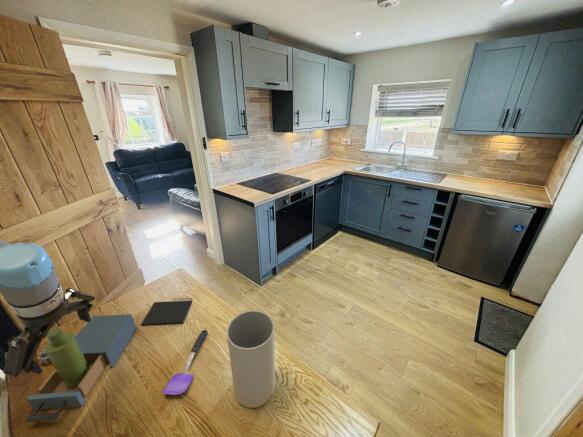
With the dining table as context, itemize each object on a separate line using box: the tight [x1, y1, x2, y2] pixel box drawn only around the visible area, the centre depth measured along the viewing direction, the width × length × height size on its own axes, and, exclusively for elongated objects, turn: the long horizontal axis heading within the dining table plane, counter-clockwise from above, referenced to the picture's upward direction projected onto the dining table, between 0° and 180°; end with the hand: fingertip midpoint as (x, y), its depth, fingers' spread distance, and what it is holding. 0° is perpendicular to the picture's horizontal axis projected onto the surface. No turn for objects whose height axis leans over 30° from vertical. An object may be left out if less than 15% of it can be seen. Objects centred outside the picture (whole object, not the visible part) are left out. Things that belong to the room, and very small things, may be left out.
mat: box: [140, 300, 193, 327], centre depth 99 cm, size 16×12×1 cm
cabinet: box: [75, 313, 137, 369], centre depth 83 cm, size 16×14×8 cm
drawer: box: [25, 354, 108, 423], centre depth 70 cm, size 19×12×6 cm, turn 5°
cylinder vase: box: [226, 310, 276, 409], centre depth 69 cm, size 12×12×25 cm
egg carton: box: [36, 333, 78, 366], centre depth 82 cm, size 11×8×4 cm
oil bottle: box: [43, 327, 90, 389], centre depth 69 cm, size 6×6×20 cm
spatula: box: [161, 329, 208, 396], centre depth 81 cm, size 24×7×2 cm, turn 175°
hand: (62, 343), depth 63 cm, fingers open, 13 cm apart
